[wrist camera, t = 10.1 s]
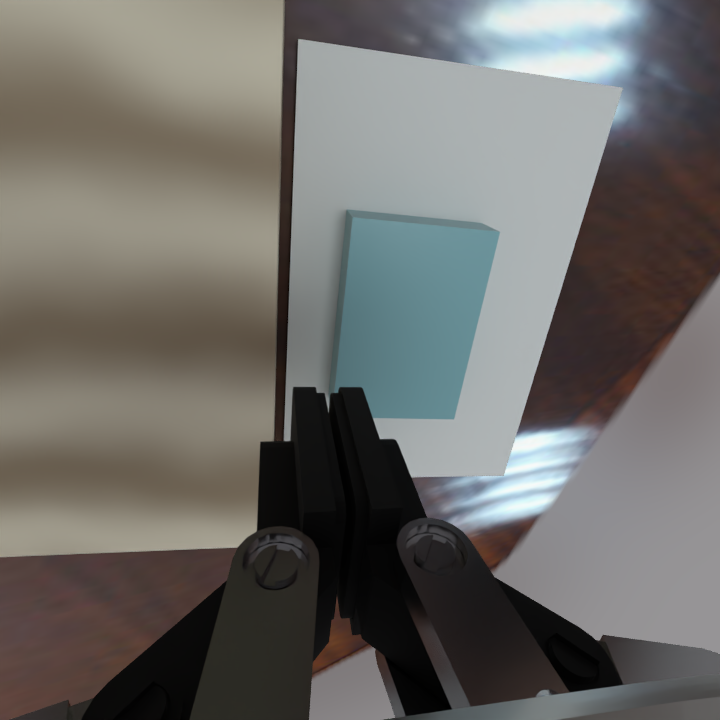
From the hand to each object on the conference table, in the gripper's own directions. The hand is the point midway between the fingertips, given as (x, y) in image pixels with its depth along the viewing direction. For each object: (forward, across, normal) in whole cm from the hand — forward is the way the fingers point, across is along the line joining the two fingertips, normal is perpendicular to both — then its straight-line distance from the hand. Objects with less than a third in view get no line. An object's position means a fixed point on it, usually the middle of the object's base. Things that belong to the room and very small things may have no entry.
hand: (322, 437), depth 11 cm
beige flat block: (+11, +8, 0) cm, 14 cm away
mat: (+11, -6, 0) cm, 12 cm away
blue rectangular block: (+8, -5, +1) cm, 9 cm away
